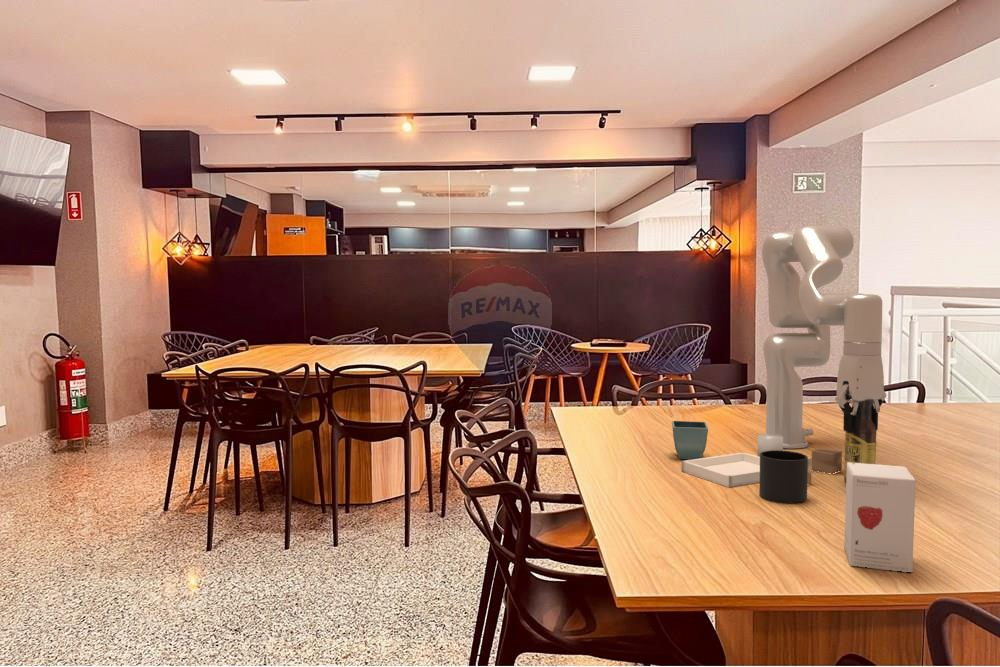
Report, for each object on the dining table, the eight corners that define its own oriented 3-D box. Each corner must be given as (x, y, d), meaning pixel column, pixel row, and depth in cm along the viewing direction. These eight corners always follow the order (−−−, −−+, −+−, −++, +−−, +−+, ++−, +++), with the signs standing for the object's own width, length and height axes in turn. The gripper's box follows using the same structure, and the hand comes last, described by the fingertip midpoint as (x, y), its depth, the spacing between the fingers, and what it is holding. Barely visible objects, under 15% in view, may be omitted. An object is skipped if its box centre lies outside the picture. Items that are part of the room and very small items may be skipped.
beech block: (802, 479, 163) (802, 454, 162) (811, 484, 159) (811, 458, 158) (785, 480, 162) (785, 454, 162) (794, 485, 158) (794, 458, 158)
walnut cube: (821, 467, 174) (821, 447, 173) (841, 471, 170) (842, 451, 170) (811, 471, 170) (811, 451, 170) (832, 475, 167) (832, 454, 166)
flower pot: (708, 462, 180) (708, 427, 179) (672, 461, 182) (673, 426, 181) (705, 454, 188) (705, 421, 188) (671, 453, 190) (671, 420, 190)
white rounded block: (769, 459, 182) (769, 432, 182) (787, 464, 177) (788, 437, 177) (752, 462, 180) (752, 435, 179) (770, 467, 174) (770, 439, 174)
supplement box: (849, 566, 112) (850, 474, 111) (843, 547, 120) (845, 461, 119) (914, 574, 108) (916, 479, 108) (903, 554, 117) (906, 465, 116)
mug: (810, 491, 153) (811, 450, 153) (804, 506, 143) (805, 462, 142) (764, 485, 158) (765, 446, 157) (755, 500, 147) (756, 457, 147)
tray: (743, 461, 180) (743, 452, 180) (793, 476, 165) (793, 466, 165) (681, 471, 171) (681, 461, 171) (728, 487, 157) (728, 476, 157)
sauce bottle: (837, 481, 161) (839, 395, 159) (863, 480, 161) (865, 394, 160) (854, 489, 154) (856, 400, 153) (881, 488, 155) (883, 399, 153)
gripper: (873, 347, 163) (871, 424, 164) (820, 350, 155) (819, 431, 157) (903, 349, 156) (901, 430, 157) (850, 353, 149) (848, 437, 150)
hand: (860, 429), depth 157 cm, fingers closed on sauce bottle, 5 cm apart
